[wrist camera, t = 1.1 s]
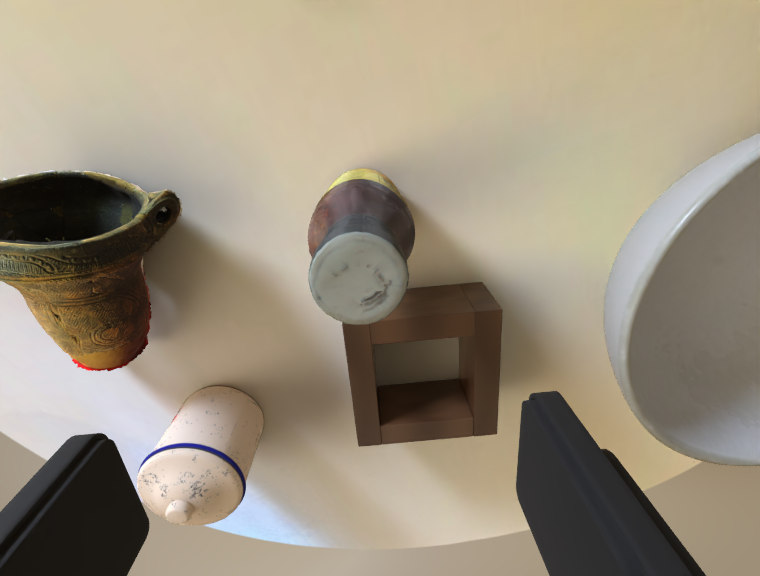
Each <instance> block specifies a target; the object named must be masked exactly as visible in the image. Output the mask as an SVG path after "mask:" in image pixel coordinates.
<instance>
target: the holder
mask: <svg viewBox="0 0 760 576" xmlns="http://www.w3.org/2000/svg"><path fill="white" fill-rule="evenodd" d="M342 326H343V333H344V341H345V348H346V356H347V363H348V371H349V379H350V386H351V394H352V401H353V409H354V416H355V424H356V431H357V439H358V446H359V447H360V446H371V445H381V444H393V443H403V442H414V441H425V440H436V439H447V438H458V437H469V436H473V435H474V436H482V435H493V434H497V422H498V399H499V377H500V355H501V332H502V308H501V307H500V306H499V304H498V303H497V302H496V300H495V299H494V298H493V296H492V295H491V294H490V292H489V291H488V290H487V288H486V287H485V285H484V284H483V283H482V282H478V283H466V284H456V285H444V286H433V287H422V288H411V289H407V290H406V293H405V296H404V298H403V300H402V301H401V303H400V304H399V305H398V306H397V307H396V309H395V310H394V311H393V312H391V314H390V315H388V316H387V317H386V318H384V319H382V320H380V321H377V322H373V323H370V324H360V325H353V324H347V323H344V322H343V323H342ZM453 337H459V379H453V380H442V381H431V382H420V383H409V384H398V385H387V386H378V383H377V373H376V363H375V353H374V345H376V344H387V343H398V342H409V341H420V340H431V339H442V338H453Z"/></svg>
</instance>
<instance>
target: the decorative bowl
mask: <svg viewBox="0 0 760 576" xmlns="http://www.w3.org/2000/svg"><path fill="white" fill-rule="evenodd" d="M604 330H605V339H606V345H607V350H608V354H609V358H610V361H611V365H612V368H613V371H614V374H615V377H616V379H617V382H618V384H619V386H620V389H621V391H622V393H623V396H624V398H625V399H626V401H627V403H628V405H629V407H630V408H631V410H632V412H633V413H634V415H635V416H636V417H637V419H638V420H639V422H640V423H641V424H642V425H643V426H644V427H645V429H646V430H647V431H648V432H649V433H650V434H651V435H653V436H654V437H655V438H656V439H657V440H659V441H660V442H661V443H663V444H664V445H666V446H667V447H669V448H671V449H673V450H675V451H677V452H679V453H681V454H683V455H685V456H688V457H691V458H694V459H697V460H701V461H705V462H709V463H714V464H721V465H730V466H760V133H758V134H756V135H754V136H751V137H749V138H747V139H745V140H743V141H741V142H738V143H737V144H735V145H733V146H731V147H729V148H727V149H725V150H723V151H721V152H720V153H718V154H716V155H714V156H713V157H711V158H709V159H708V160H706V161H705V162H703V163H701V164H700V165H698V166H697V167H695V168H694V169H692V170H691V171H690V172H688V173H687V174H685V175H684V176H683V177H681V178H680V179H679V180H678V181H676V182H675V183H674V184H673V185H671V186H670V187H669V188H668V189H667V190H666V191H665V192H664V193H663V194H661V195H660V196H659V197H658V198H657V199H656V200H655V201H654V202H653V203H652V204H651V205H650V206H649V208H648V209H647V210H646V211H645V212H644V213H643V214H642V216H641V217H640V218H639V220H638V221H637V222H636V223H635V225H634V226H633V228H632V229H631V231H630V232H629V234H628V235H627V237H626V239H625V240H624V242H623V244H622V246H621V248H620V250H619V252H618V254H617V256H616V258H615V261H614V263H613V266H612V269H611V272H610V275H609V279H608V283H607V288H606V294H605V302H604Z"/></svg>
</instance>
